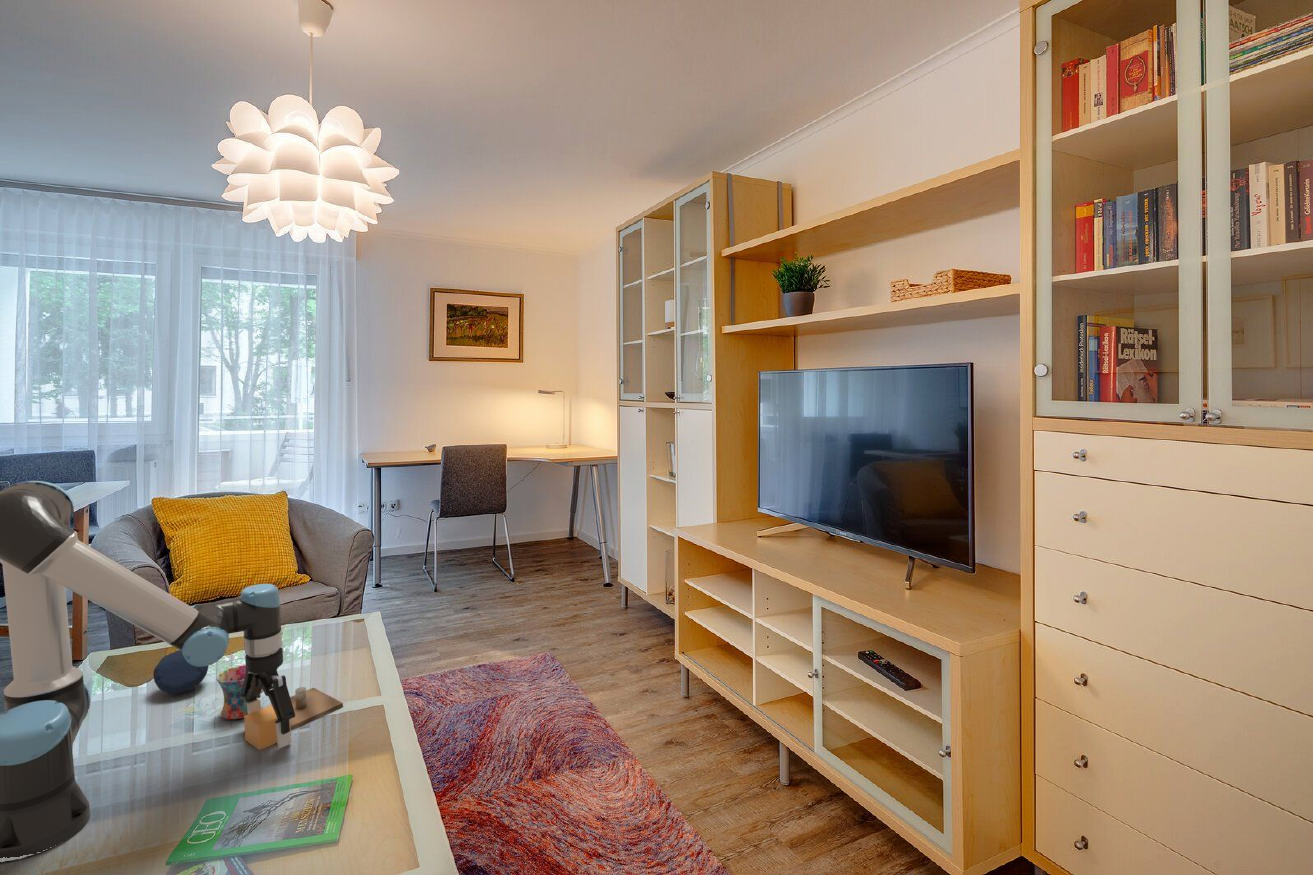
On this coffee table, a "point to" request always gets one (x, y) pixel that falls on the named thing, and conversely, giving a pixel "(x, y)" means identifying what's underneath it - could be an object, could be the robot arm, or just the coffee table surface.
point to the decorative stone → (177, 674)
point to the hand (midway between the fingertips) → (269, 735)
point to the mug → (233, 692)
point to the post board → (311, 705)
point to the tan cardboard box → (261, 727)
